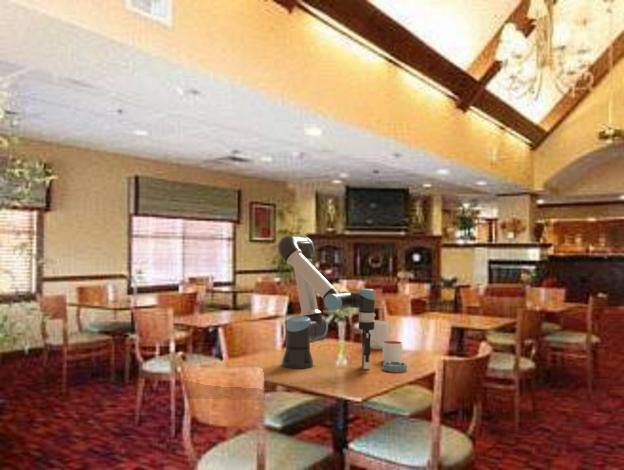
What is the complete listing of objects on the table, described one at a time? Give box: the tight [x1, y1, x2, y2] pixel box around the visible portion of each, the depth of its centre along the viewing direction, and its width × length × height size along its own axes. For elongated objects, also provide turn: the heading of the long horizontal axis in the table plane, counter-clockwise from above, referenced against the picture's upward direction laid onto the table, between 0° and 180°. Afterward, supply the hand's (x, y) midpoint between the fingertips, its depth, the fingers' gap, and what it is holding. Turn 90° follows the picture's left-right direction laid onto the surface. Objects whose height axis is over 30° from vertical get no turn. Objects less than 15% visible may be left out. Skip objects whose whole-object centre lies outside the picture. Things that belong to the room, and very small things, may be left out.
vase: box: [369, 320, 392, 350], centre depth 342 cm, size 14×14×15 cm
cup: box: [381, 340, 403, 363], centre depth 301 cm, size 10×10×10 cm
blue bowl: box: [382, 361, 408, 373], centre depth 282 cm, size 11×11×4 cm
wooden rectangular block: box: [361, 345, 370, 371], centre depth 282 cm, size 3×2×11 cm
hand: (365, 365), depth 282 cm, fingers open, 12 cm apart
